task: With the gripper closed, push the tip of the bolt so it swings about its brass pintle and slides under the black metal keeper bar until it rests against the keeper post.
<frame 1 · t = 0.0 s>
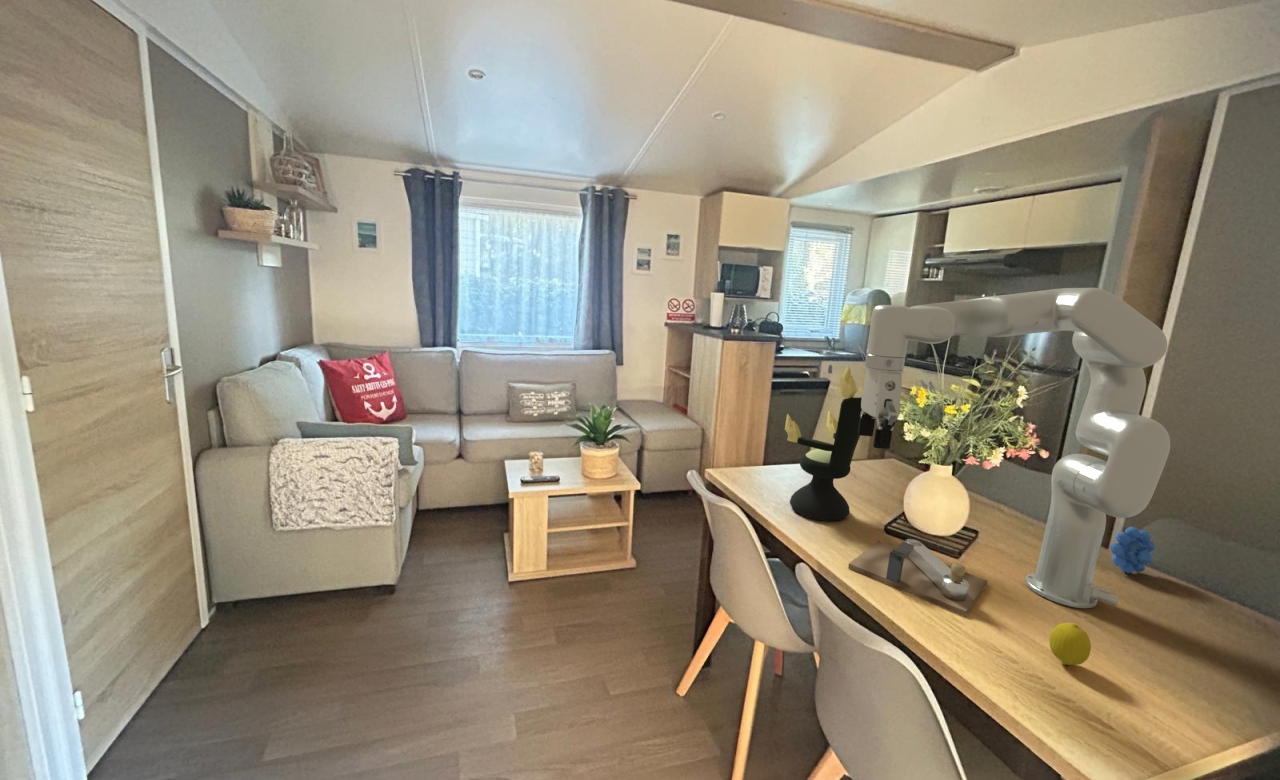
hand: (872, 441, 113), 31 cm above the table, tool pointing down, fingers open, 9 cm apart
grapes: (1130, 575, 126), on the table
base board: (916, 576, 119), on the table
bolt: (933, 567, 117), point 3 cm above the table, hinge at -45.0°
lemon: (1064, 665, 92), on the table
black toy throne: (825, 514, 152), on the table
keeper: (892, 584, 115), resting on base board
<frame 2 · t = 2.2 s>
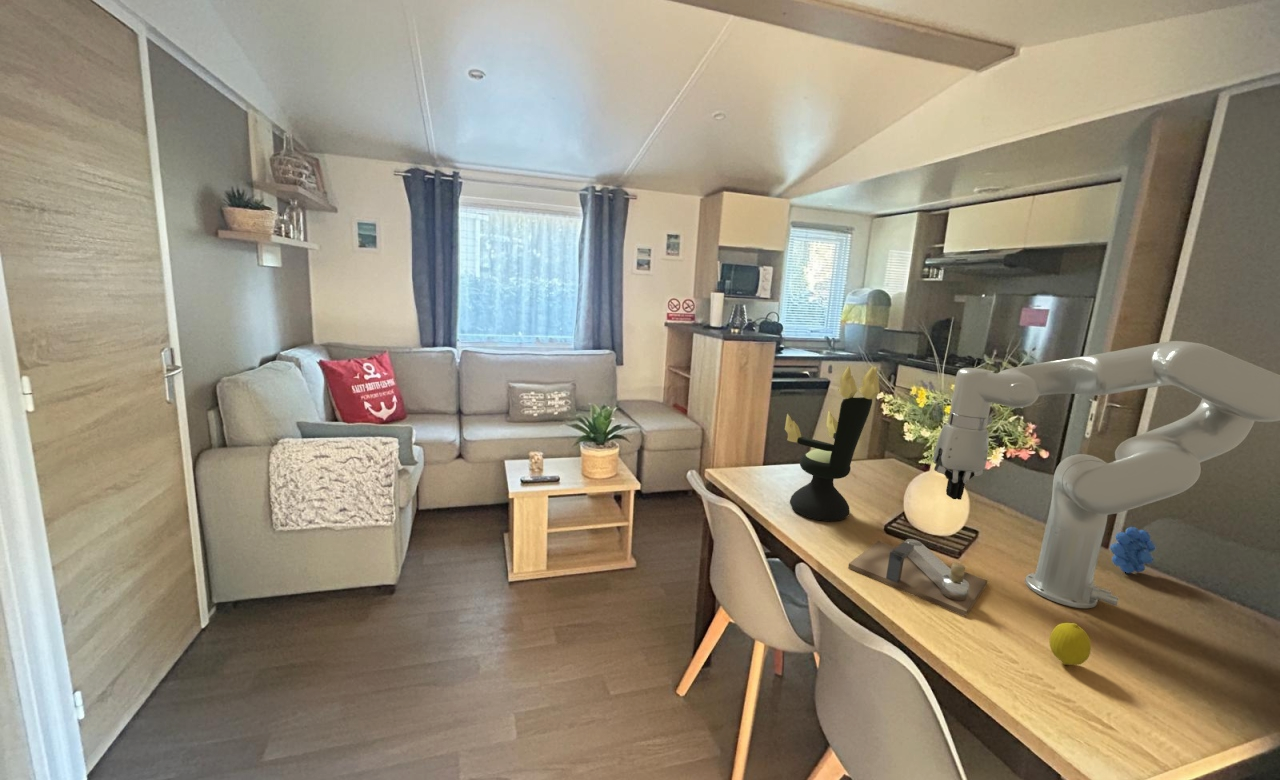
hand: (953, 497, 123), 17 cm above the table, tool pointing down, fingers closed
nothing on the table moved.
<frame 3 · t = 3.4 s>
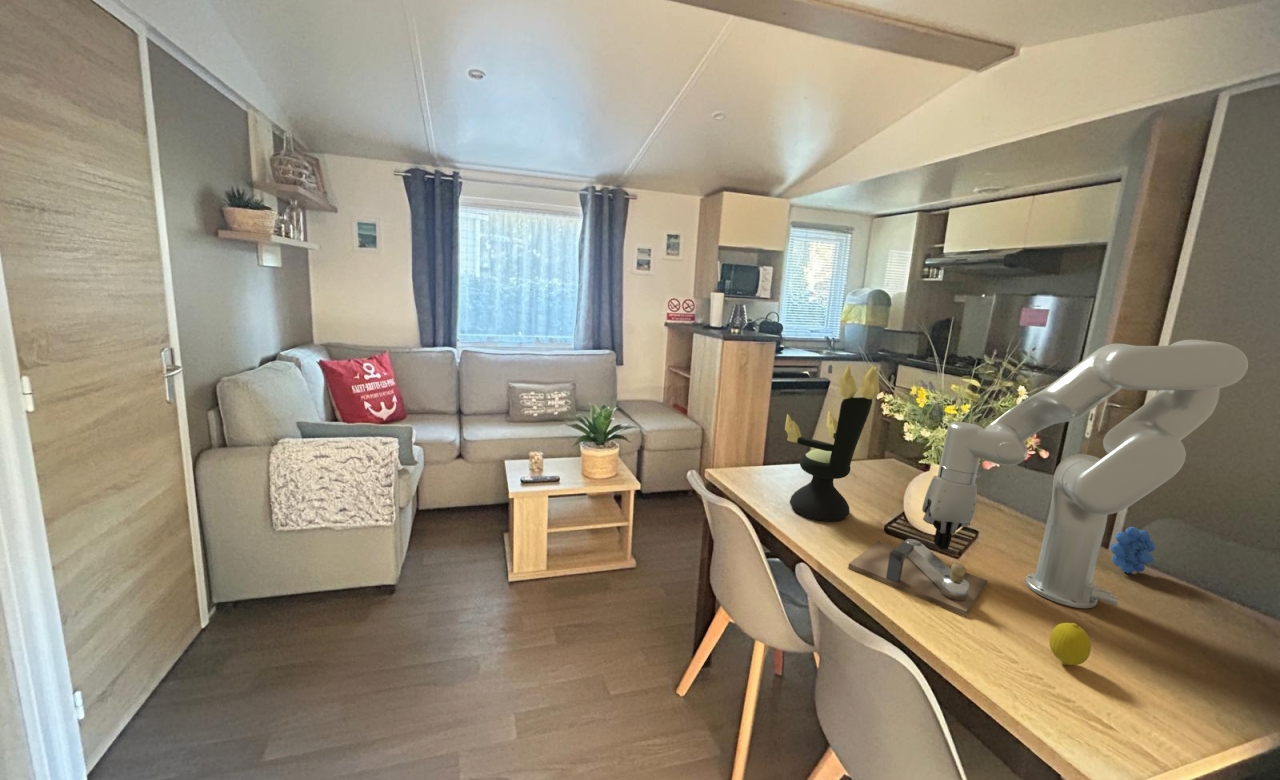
hand: (940, 546, 125), 4 cm above the table, tool pointing down, fingers closed
nothing on the table moved.
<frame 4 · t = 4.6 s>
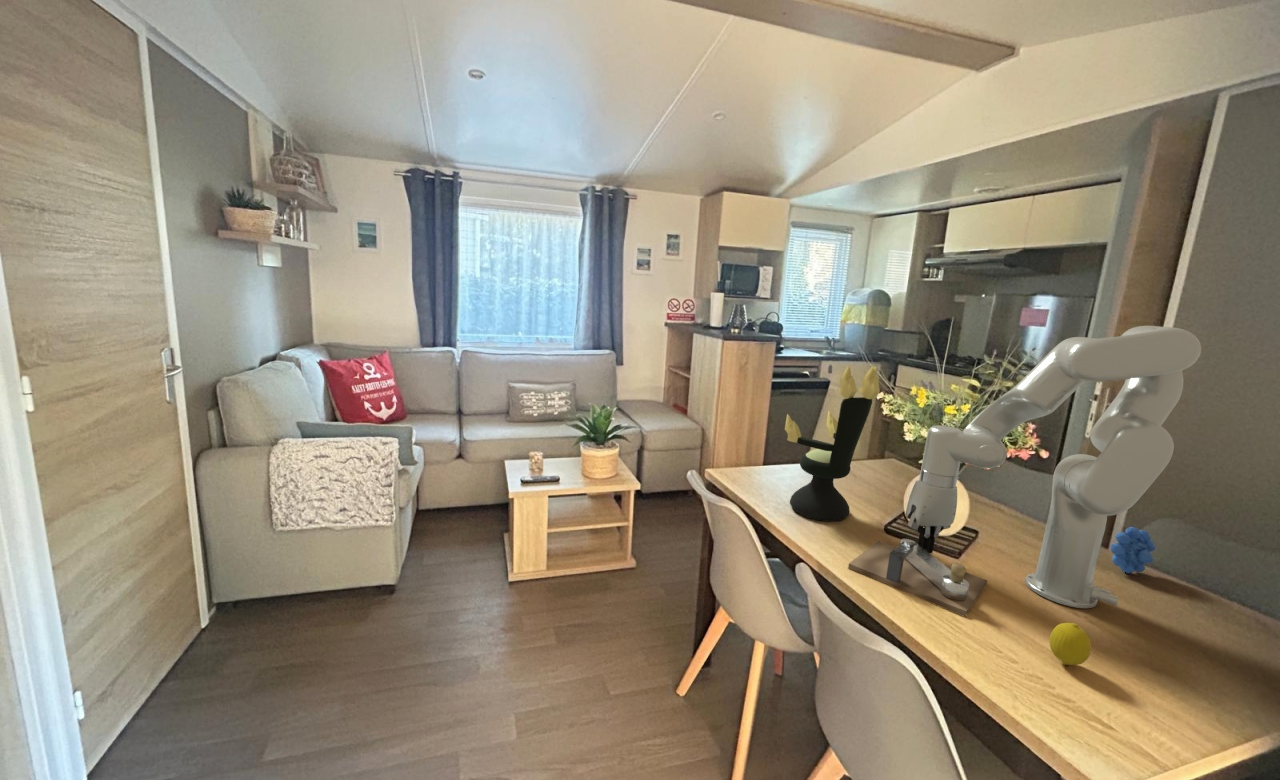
hand: (924, 550, 125), 3 cm above the table, tool pointing down, fingers closed
bolt: (930, 566, 117), point 3 cm above the table, hinge at -40.8°, touching gripper
everything else where it was.
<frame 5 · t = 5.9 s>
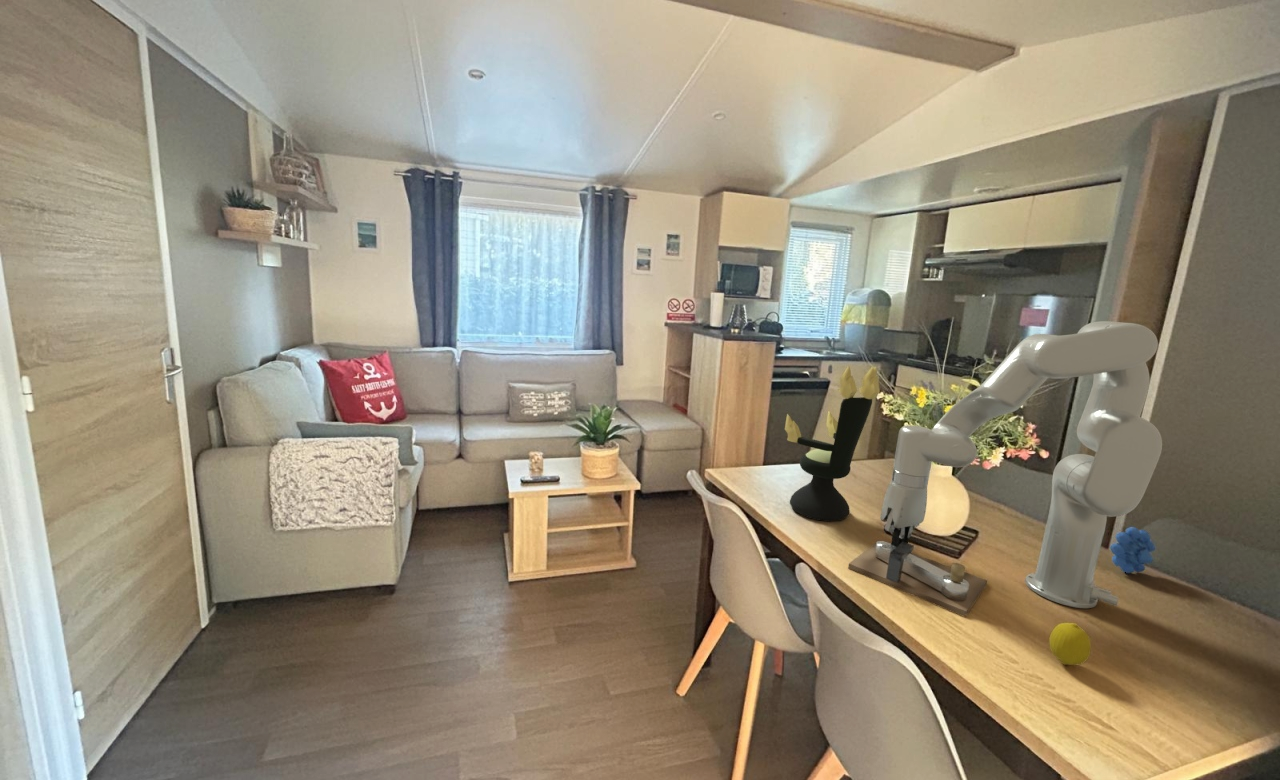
hand: (898, 551, 125), 3 cm above the table, tool pointing down, fingers closed
bolt: (918, 568, 116), point 3 cm above the table, hinge at -16.5°, touching gripper
everything else where it was.
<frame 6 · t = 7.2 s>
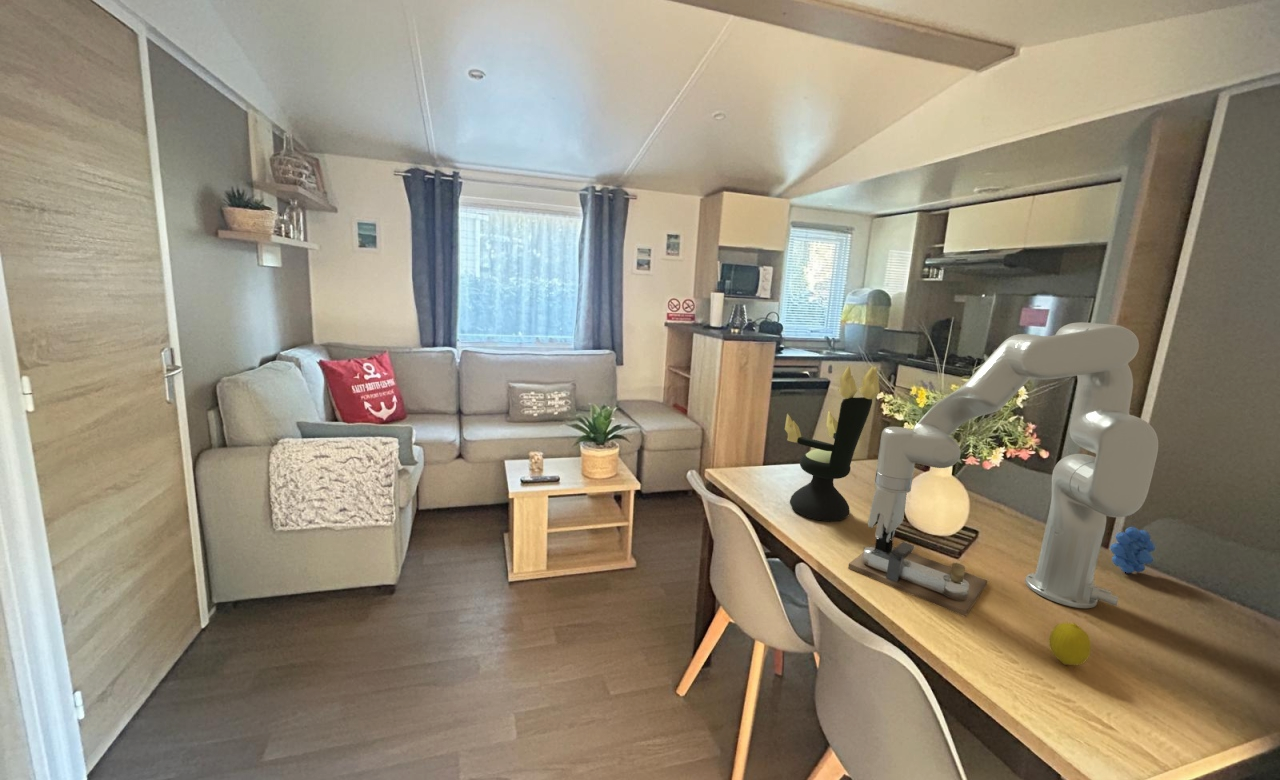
hand: (882, 554, 122), 3 cm above the table, tool pointing down, fingers closed
bolt: (912, 571, 115), point 3 cm above the table, hinge at 2.8°, touching gripper, keeper
everything else where it was.
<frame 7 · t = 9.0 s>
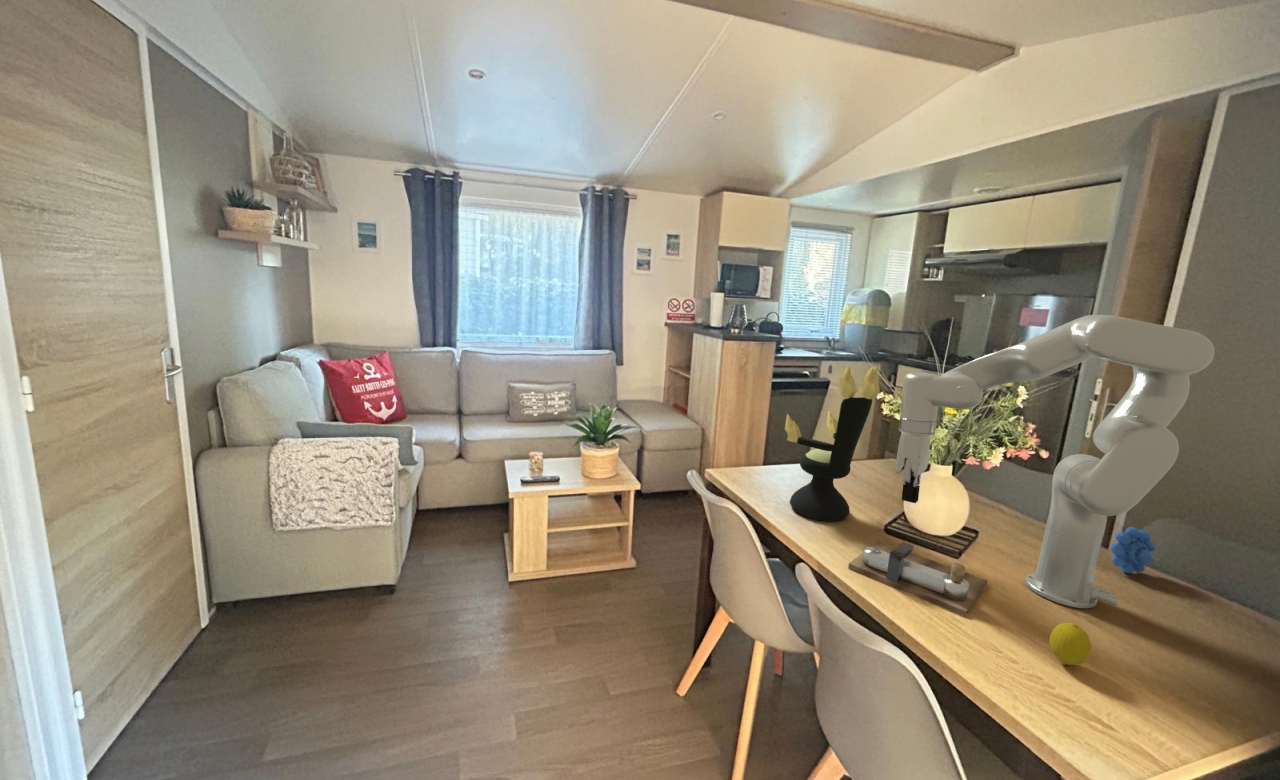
hand: (909, 500, 124), 15 cm above the table, tool pointing down, fingers closed
bolt: (912, 571, 115), point 3 cm above the table, hinge at 2.6°
everything else where it was.
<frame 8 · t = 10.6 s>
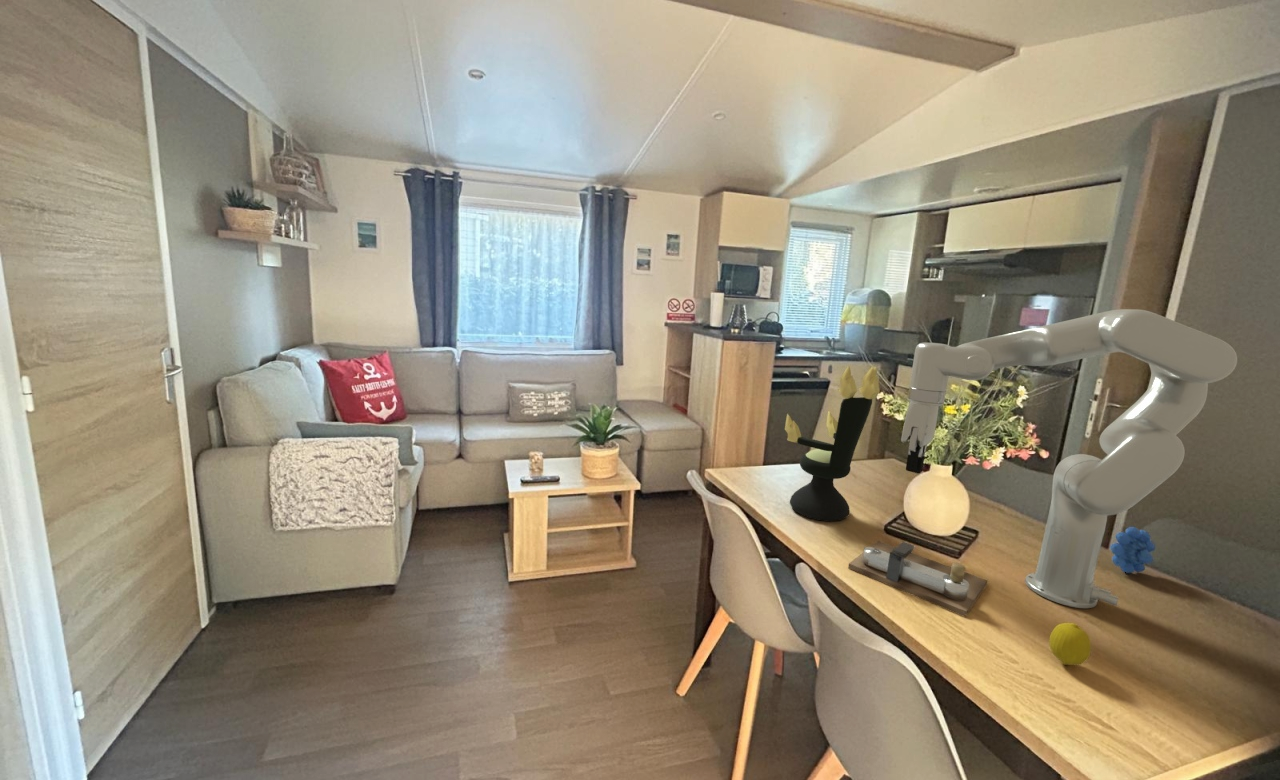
hand: (913, 471, 124), 22 cm above the table, tool pointing down, fingers closed
nothing on the table moved.
at the end: bolt at +3° (first picture: -45°); lemon moved 0.2 cm from its start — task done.
